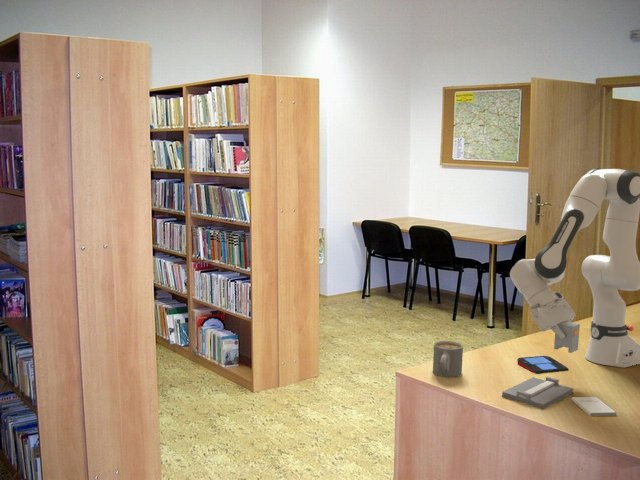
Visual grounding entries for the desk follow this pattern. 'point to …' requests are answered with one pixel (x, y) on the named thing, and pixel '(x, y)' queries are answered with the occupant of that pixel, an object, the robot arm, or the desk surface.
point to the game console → (541, 364)
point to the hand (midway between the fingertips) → (568, 335)
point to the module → (568, 336)
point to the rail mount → (538, 392)
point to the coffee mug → (447, 358)
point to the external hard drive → (593, 406)
